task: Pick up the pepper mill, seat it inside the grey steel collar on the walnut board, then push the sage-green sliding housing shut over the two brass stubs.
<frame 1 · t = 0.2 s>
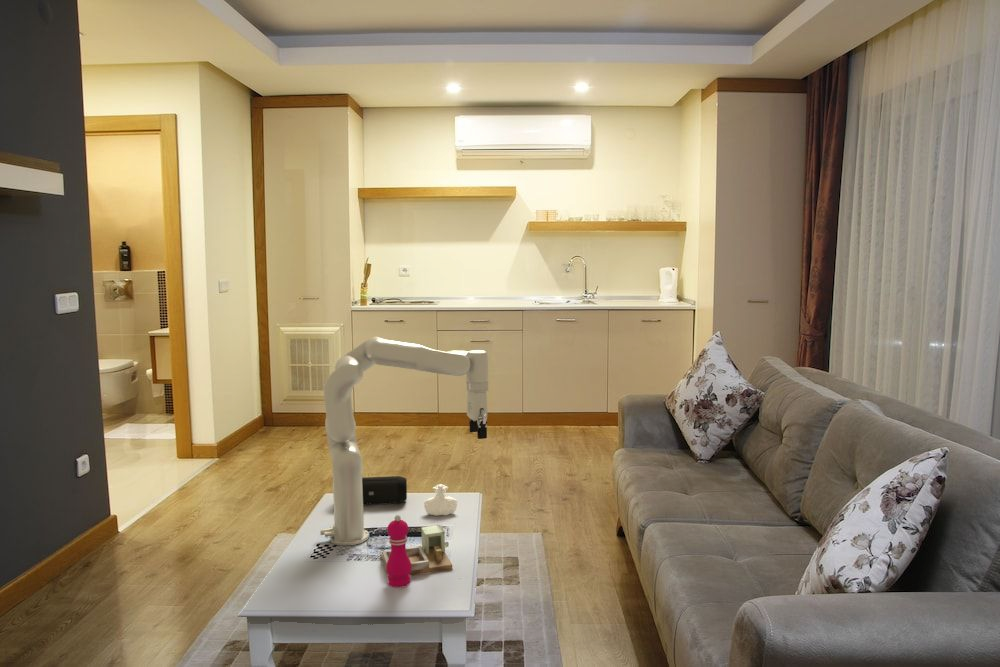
hand: (478, 435, 246), 31 cm above the table, fingers open, 9 cm apart
pepper mill: (399, 583, 204), on the table, touching stand
bust: (440, 513, 259), on the table
housing: (433, 539, 223), point 5 cm above the table, slide at 6.5 cm
portable speaker: (372, 503, 270), on the table
stand: (415, 563, 217), on the table
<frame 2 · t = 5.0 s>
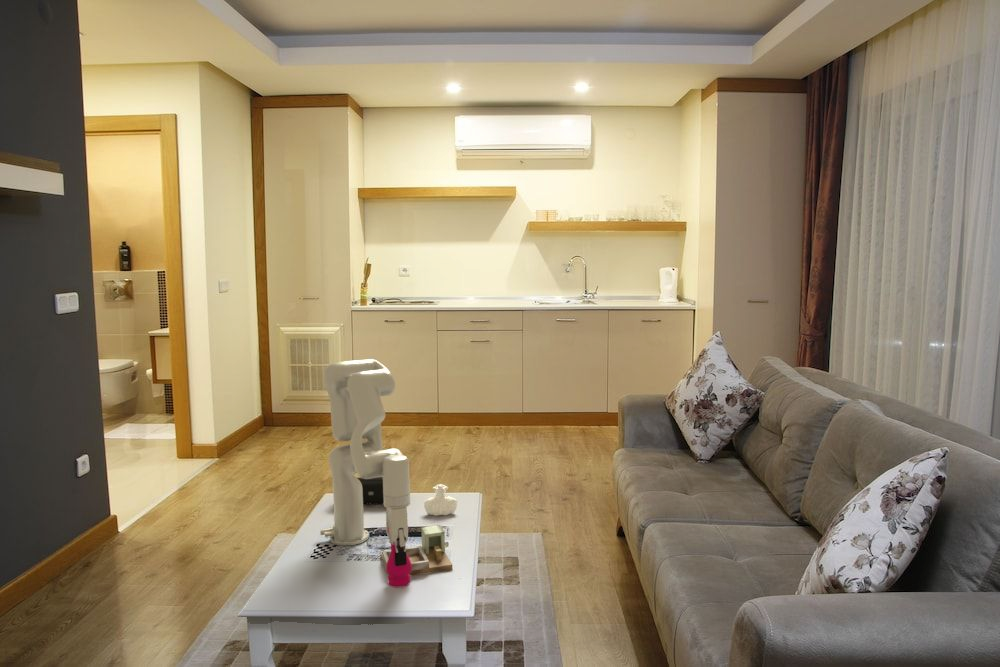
hand: (398, 560, 203), 7 cm above the table, fingers closed on pepper mill, 5 cm apart
pepper mill: (399, 582, 204), on the table, touching gripper, stand
everything else where it was.
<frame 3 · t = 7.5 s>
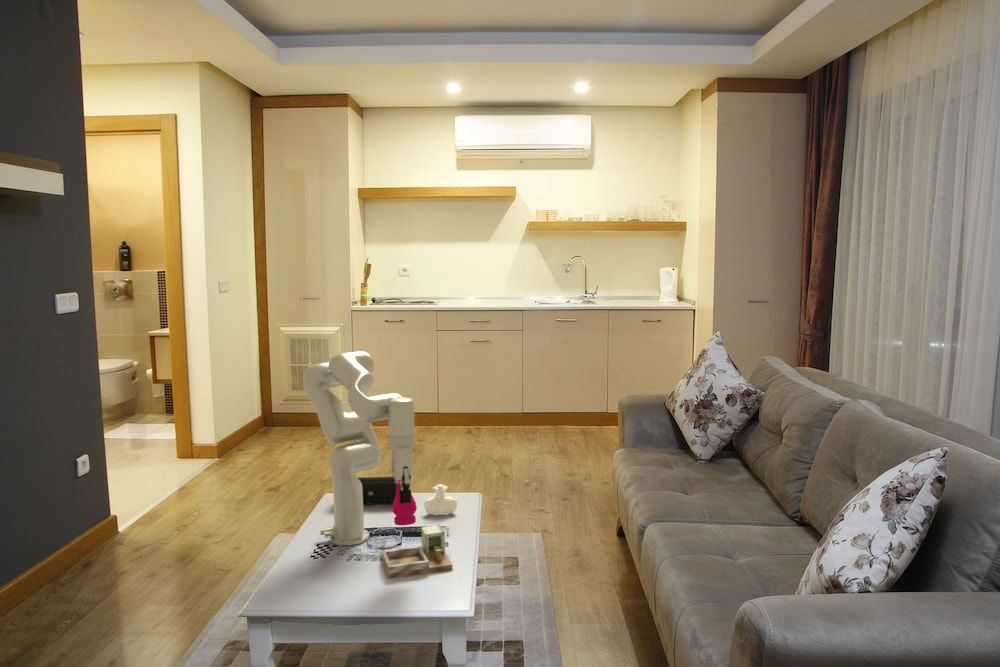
hand: (403, 498, 212), 21 cm above the table, fingers closed on pepper mill, 5 cm apart
pepper mill: (405, 523, 211), point 14 cm above the table, touching gripper
everything else where it was.
when the fingers open (9 cm above the table, at t = 10.0 s): pepper mill stays where it is, resting on stand.
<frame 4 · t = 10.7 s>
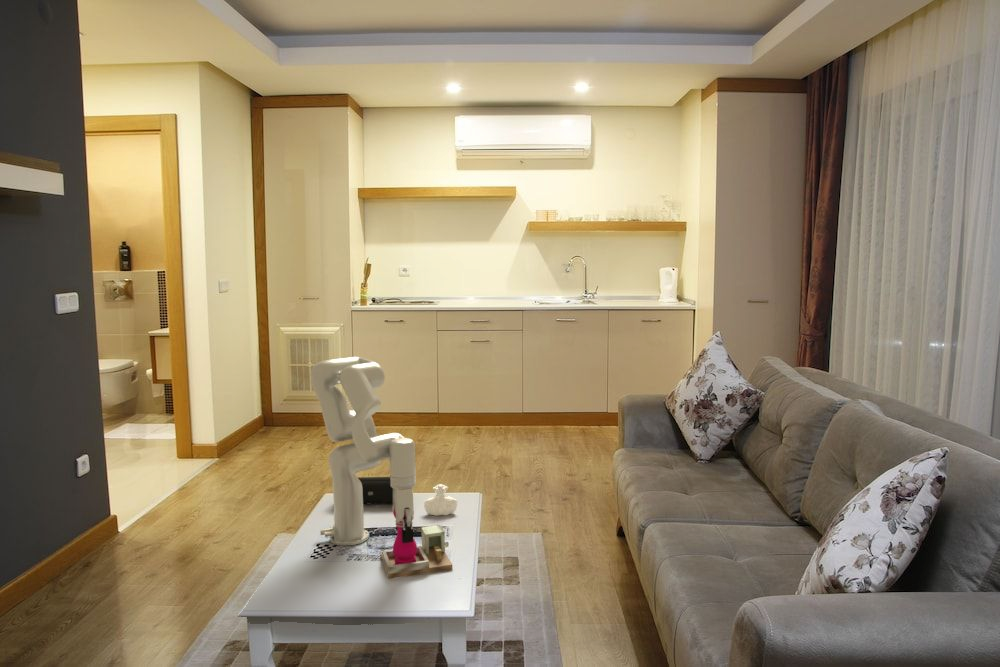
hand: (404, 535, 213), 10 cm above the table, fingers open, 9 cm apart
pepper mill: (405, 564, 213), point 1 cm above the table, touching stand
everything else where it was.
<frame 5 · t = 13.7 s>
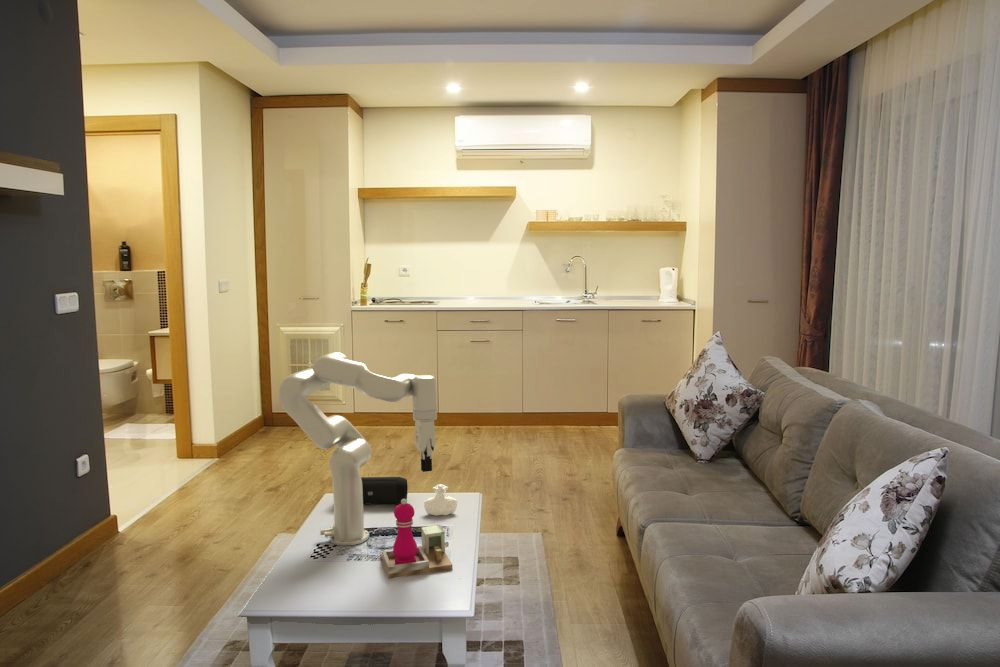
hand: (426, 470, 228), 25 cm above the table, fingers closed
nothing on the table moved.
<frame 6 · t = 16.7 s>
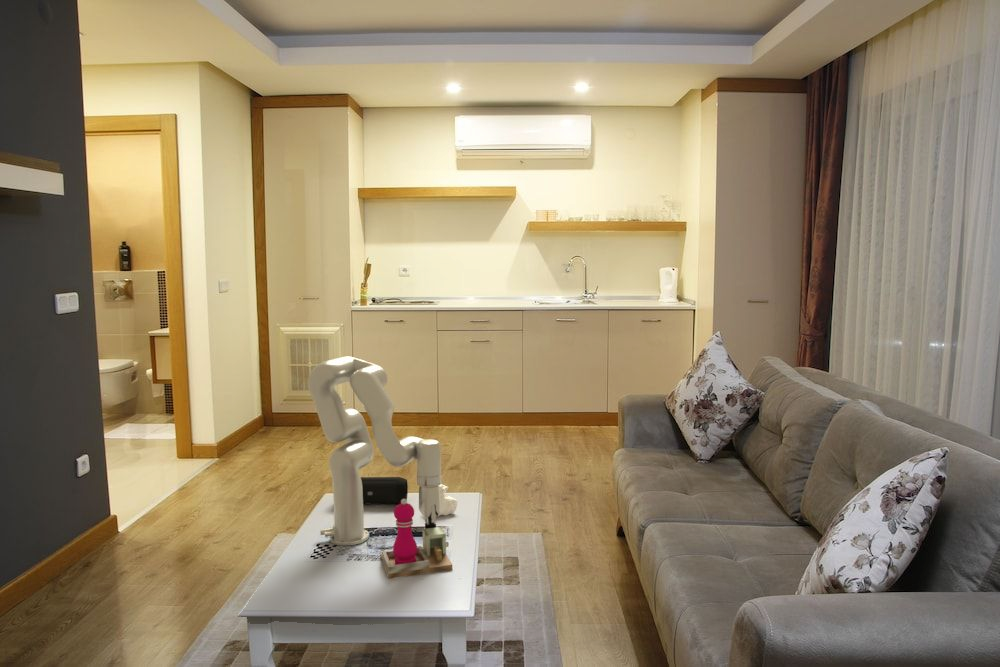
hand: (430, 535, 226), 5 cm above the table, fingers closed
housing: (434, 541, 221), point 5 cm above the table, slide at 5.0 cm, touching gripper
everything else where it was.
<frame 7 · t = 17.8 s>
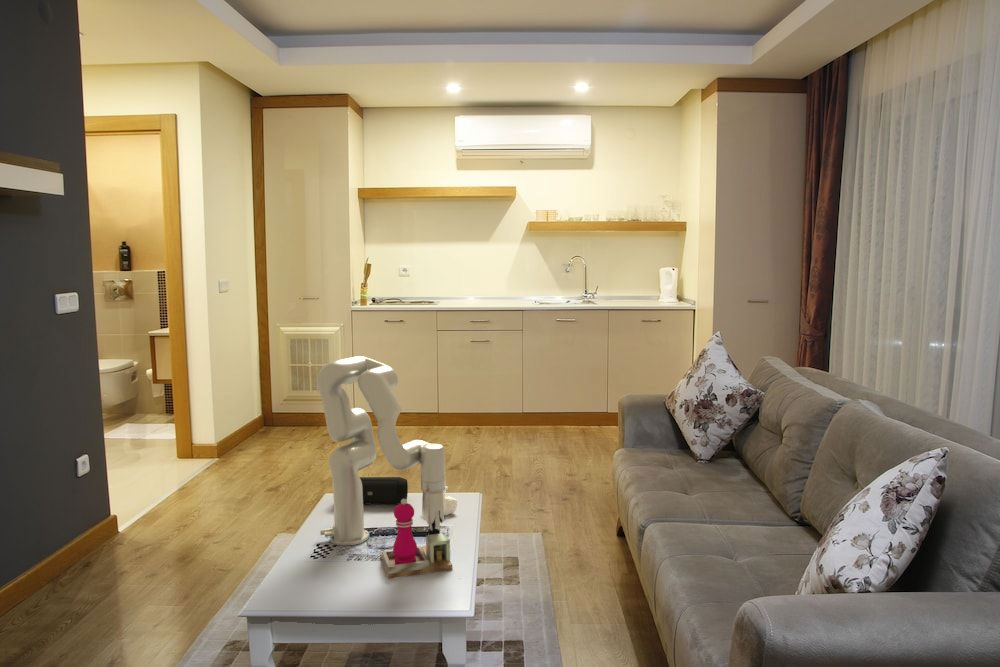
hand: (434, 541, 221), 5 cm above the table, fingers closed
housing: (437, 547, 216), point 5 cm above the table, slide at -0.3 cm, touching gripper
everything else where it was.
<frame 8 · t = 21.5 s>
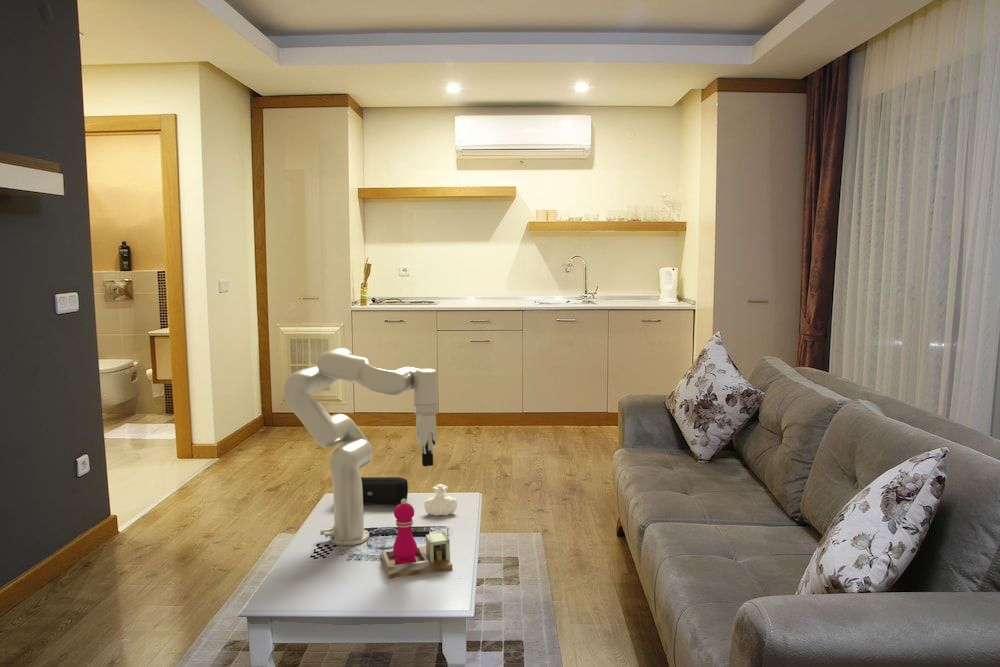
hand: (427, 465, 225), 27 cm above the table, fingers closed
housing: (437, 547, 217), point 5 cm above the table, slide at 0.0 cm
everything else where it was.
at the end: pepper mill 0.8 cm from the target spot on the stand, point 1.3 cm above the stand's base; pepper mill tilted 0°; housing slide at 0.0 cm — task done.
